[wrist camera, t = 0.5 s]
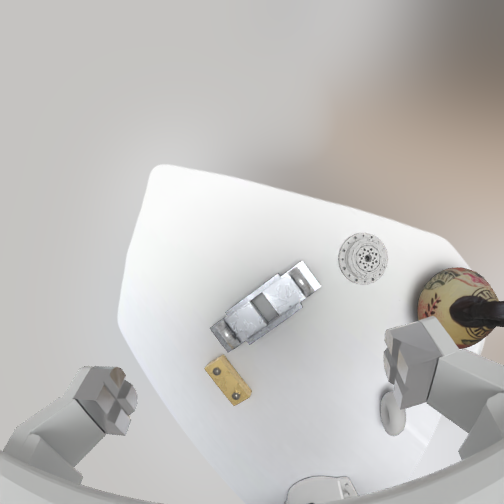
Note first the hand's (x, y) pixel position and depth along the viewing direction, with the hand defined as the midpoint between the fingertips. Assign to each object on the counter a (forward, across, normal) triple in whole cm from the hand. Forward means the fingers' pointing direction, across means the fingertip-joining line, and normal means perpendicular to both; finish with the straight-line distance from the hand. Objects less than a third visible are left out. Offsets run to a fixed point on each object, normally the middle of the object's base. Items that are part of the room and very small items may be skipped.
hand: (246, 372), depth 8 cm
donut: (+32, +17, -50) cm, 62 cm away
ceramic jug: (+41, +30, -32) cm, 60 cm away
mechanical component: (+46, +16, -21) cm, 53 cm away
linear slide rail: (+43, -5, -26) cm, 51 cm away
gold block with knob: (+37, -15, -38) cm, 56 cm away
